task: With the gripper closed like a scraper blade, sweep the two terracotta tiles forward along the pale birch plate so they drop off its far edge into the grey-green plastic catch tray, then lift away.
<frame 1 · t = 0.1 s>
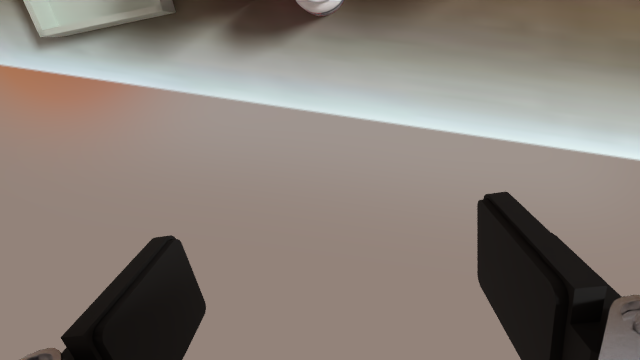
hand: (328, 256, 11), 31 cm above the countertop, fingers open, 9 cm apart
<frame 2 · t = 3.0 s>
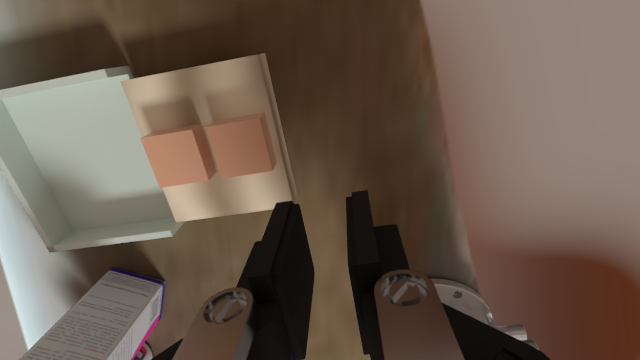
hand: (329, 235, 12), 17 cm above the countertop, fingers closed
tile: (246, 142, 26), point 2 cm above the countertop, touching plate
pill bottle: (132, 348, 40), on the countertop
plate: (222, 139, 29), on the countertop
tray: (98, 159, 30), on the countertop
supplement box: (137, 292, 36), on the countertop
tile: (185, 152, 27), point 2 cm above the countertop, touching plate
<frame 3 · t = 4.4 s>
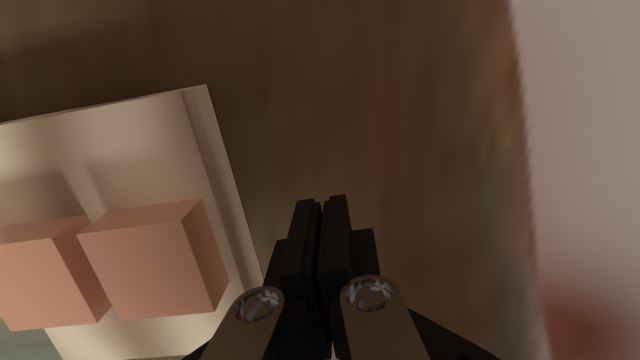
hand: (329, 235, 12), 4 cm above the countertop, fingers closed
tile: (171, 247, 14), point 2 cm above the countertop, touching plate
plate: (142, 226, 17), on the countertop
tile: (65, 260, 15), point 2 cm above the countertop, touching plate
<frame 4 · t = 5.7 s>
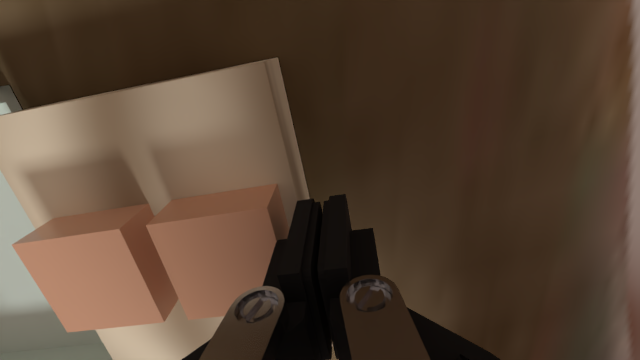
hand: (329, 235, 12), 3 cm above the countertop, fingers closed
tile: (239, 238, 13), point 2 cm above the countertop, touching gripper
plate: (197, 217, 15), on the countertop
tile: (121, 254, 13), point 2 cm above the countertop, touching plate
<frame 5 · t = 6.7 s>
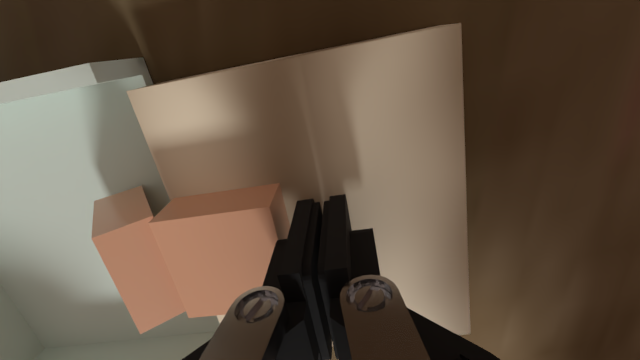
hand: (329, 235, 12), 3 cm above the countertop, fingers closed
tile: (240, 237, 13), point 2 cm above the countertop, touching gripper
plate: (323, 199, 15), on the countertop
tray: (85, 233, 16), on the countertop
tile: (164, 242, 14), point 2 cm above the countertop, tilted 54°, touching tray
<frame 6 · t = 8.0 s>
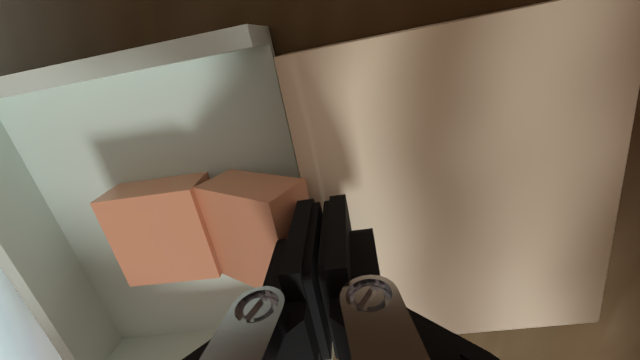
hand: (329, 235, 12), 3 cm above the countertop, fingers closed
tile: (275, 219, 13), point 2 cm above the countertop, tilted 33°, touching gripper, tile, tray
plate: (439, 180, 14), on the countertop
tray: (179, 217, 15), on the countertop
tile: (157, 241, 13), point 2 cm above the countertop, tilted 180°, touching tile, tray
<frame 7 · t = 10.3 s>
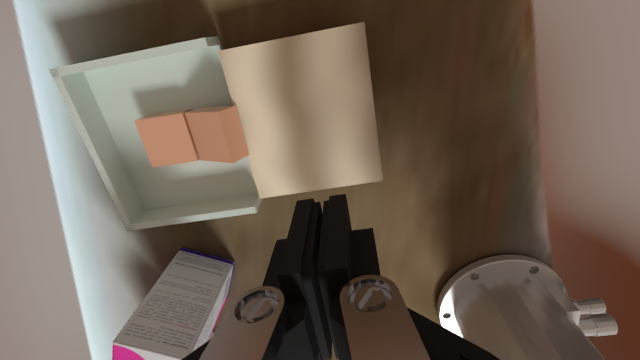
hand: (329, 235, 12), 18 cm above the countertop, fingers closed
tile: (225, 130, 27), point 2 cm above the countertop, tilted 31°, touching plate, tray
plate: (308, 113, 28), on the countertop
tray: (177, 135, 29), on the countertop
supplement box: (204, 273, 36), on the countertop
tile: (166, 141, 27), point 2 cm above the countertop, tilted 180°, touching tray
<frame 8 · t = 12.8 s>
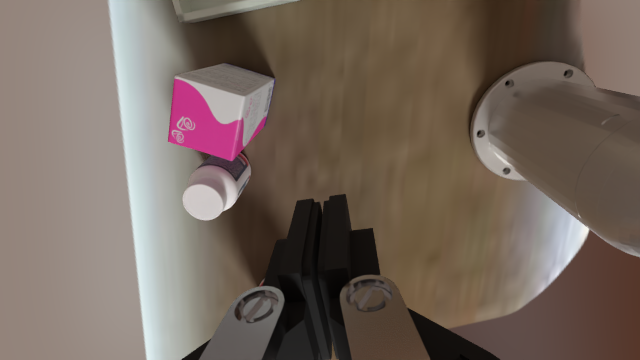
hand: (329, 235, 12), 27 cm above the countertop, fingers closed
pill bottle: (230, 167, 41), on the countertop
supplement box: (244, 95, 37), on the countertop
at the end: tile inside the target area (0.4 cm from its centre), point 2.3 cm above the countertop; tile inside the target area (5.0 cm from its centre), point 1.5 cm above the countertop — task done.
